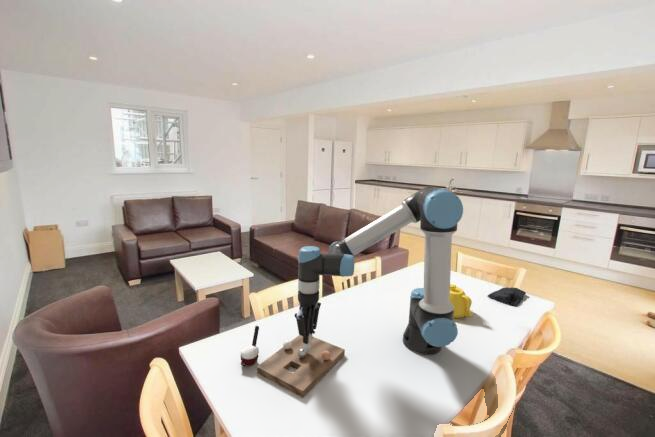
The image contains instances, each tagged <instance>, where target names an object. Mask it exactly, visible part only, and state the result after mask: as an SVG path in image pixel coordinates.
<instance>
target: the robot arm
mask: <svg viewBox="0 0 655 437" xmlns="http://www.w3.org/2000/svg"><path fill="white" fill-rule="evenodd" d="M463 214H464V206H463V202H462V200H461V199H460V197H459V196H458V195H457V194H455V193H454V192H453V191H451V190H449V189H446V188H441V187H439V186H426V187H423V188H421V189H420V190H417V191H416V192H415V193H413V194H411V195H410V196H408V197H407V198H405V199H403V200H402V201H401V204H400V205H399V206H397V207H395V208H394V209H392V210H390V211H389V212H387V213H385V214H384V215H382V216H380V217H379V218H376V220H374V221H372V222H370V223H369V224H367V225H365V226H364V227H362V228H360V229H358V230H357V231H355V232H353V233H352V234H350V235H348V236H347V237H345V238H343V239H342V240H340V241H334V242H333V243H331V244H330V246H329V247H328V250H327V253H323V252H321V249H320V247H317V246H313V245H312V246H311V245H308V246H303V247H300V249H299V250H298V260H297V263H298V264H297V266H298V268H297V271H298V273H297V274H298V275H297V276H298V277H297V278H298V282H297V283H298V285H297V289H298V290H297V300H298V302H299V307H298V308H299V309H298V310H299V311H298V312H296V313H294V318H295V319H296V324H297V329H298V330H297V331H298V336H299V335H301V336H303V349H305V350H306V351H308V352H310V351H311V350H312V336H313V335H314V334H315V333H316V331H315V330H316V329H317V326H318V320H319V313H320V309H321V306H322V303H321V302H319V300H320V282H321V281H320V279H321V278H320V276H329V277H343V278H344V277H353V276H354V273H355V256H356V255H358V254H359V253H361V252H364V251H365V250H366V249H368V248H370V247H372V246H374V245H375V244H377V243H378V242H380V241H382V240H384V239H386V238H387V237H389V236H391V235H392V234H394V233H396V232H397V231H399V230H401V229H403V228H405V227H406V226H408V225H410V224H411V223H415V224H417V223H420V226H419V228H420V231H421V232H423V233H424V251H423V252H424V259H423V260H424V261H423V262H424V263H423V287H416V288H414V289H413V290H412V291H410V292H411V293H410V300H409V301H410V302H409V312H408V314H409V315H408V323H407V326H406V328H405V330H404V332H403V334H402V342H403V345H404V346H405V348H407V349H409V350H410V351H412V352H414V353H416V354H417V353H418V354H421V355H435V354H437V353H439V352H440V351H441V350H442V347H445V346H449V345H450V344H452V343H453V342H454V341H455V340H456V338H457V337H458V333H459V332H458V331H459V330H458V327H457V324H456V322H455V321H454V320H455V318H454V305H453V304H452V303H451V302H450V301H449V299H450V284H451V273H452V272H451V268H452V267H451V266H452V265H451V264H452V245H453V244H452V241H453V234H455V233H456V232H457V231H458V223H459V222H460V221H461V219H462V217H463Z"/></svg>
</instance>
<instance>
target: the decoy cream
mask: <svg viewBox="0 0 655 437" xmlns="http://www.w3.org/2000/svg"><path fill="white" fill-rule="evenodd" d="M291 341H292V340H289V339H287V340H284V341H283V344H282V345H283V346H282V347H284V348H285V349H290V348H291V346H292V343H291Z"/></svg>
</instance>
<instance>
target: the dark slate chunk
mask: <svg viewBox="0 0 655 437" xmlns="http://www.w3.org/2000/svg"><path fill="white" fill-rule="evenodd" d="M526 294H527V292H526V291H524V290H522V289H519V288H517V287H505V286H504V287H502V288H500V289H498V290H495V291H493V292H490V293H489V294H488V295H487V297H488V299H491V300H494V301H496V302H498V303H501V304H503V305H506V306H507V305H508V306H511V307H512V306H513V307H518V305H519V304H520V303H521V302H522V301H523V299H524V297H525V296H526Z"/></svg>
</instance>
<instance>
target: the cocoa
mask: <svg viewBox="0 0 655 437" xmlns="http://www.w3.org/2000/svg"><path fill="white" fill-rule="evenodd" d="M259 330H260V326H258V325H255V326H254V332H253V338H252V344H251V345H248V346H246V347H244V348H242V349H241V350H240V352H239V354H240V360H241V361H240V365H241V367H251V366H254V365H256V363H257V362H258V360H259V353H260V350H259V347H258V346H257V341H258V336H259Z"/></svg>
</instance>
